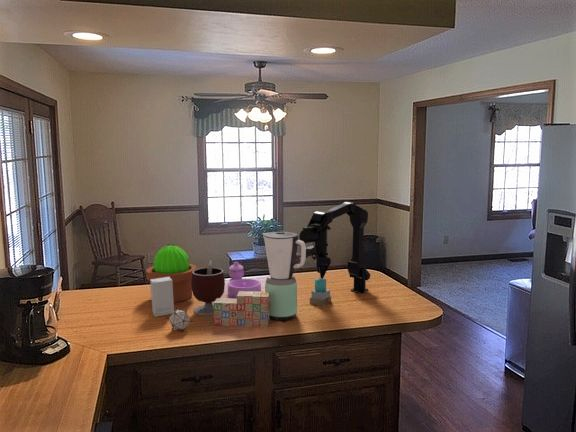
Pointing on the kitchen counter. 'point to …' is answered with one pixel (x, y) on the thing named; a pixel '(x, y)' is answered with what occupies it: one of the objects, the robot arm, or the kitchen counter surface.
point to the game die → (179, 319)
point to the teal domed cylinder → (320, 285)
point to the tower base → (320, 301)
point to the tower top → (320, 294)
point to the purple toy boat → (240, 282)
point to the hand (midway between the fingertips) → (320, 275)
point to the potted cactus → (173, 270)
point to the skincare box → (162, 296)
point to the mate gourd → (207, 287)
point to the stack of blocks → (243, 310)
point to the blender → (282, 272)
